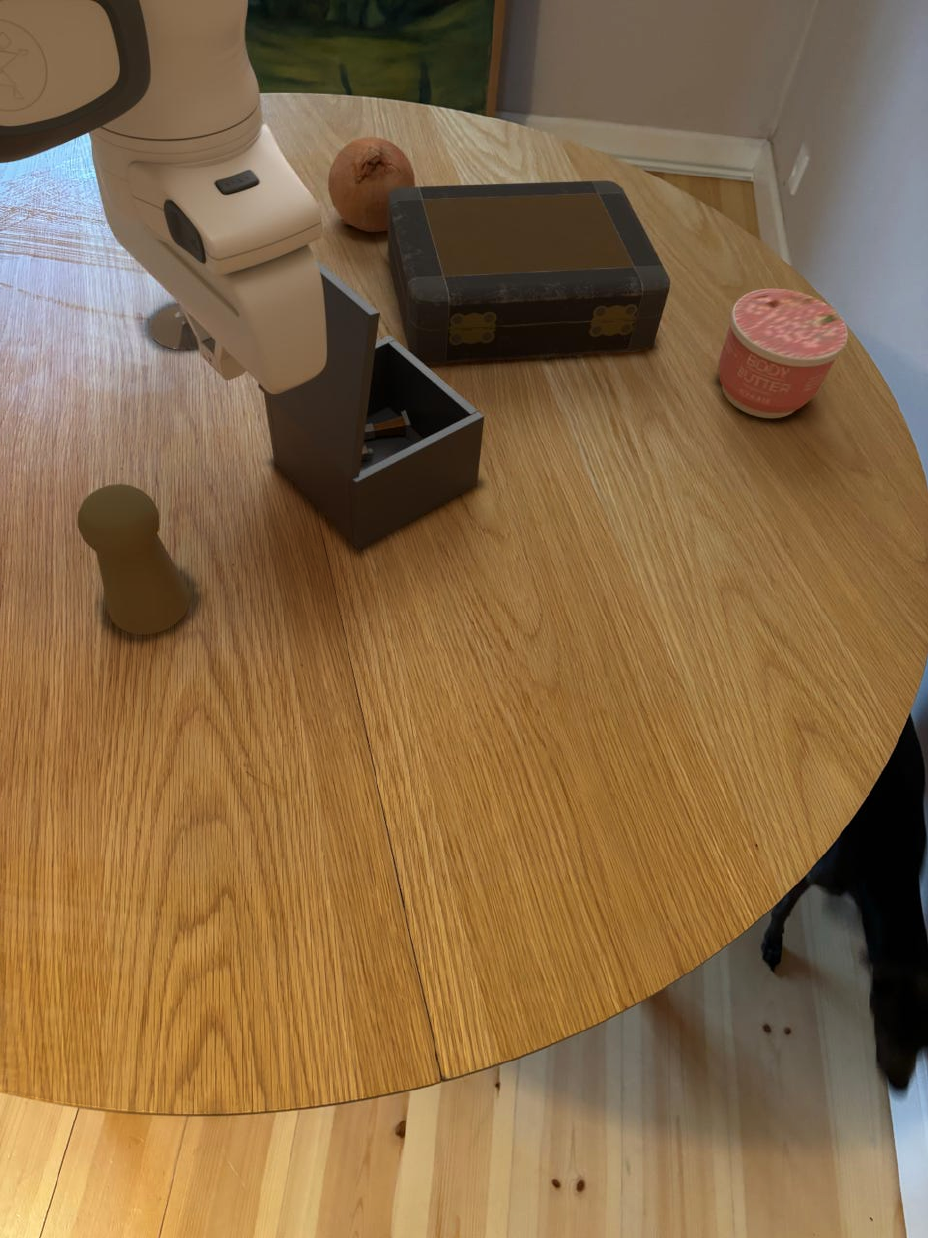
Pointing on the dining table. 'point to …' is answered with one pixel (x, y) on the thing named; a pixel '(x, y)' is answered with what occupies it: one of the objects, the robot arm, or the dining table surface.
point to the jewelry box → (523, 271)
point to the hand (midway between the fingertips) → (224, 365)
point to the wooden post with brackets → (386, 431)
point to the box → (389, 451)
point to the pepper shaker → (133, 560)
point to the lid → (338, 379)
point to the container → (778, 351)
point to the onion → (368, 181)
